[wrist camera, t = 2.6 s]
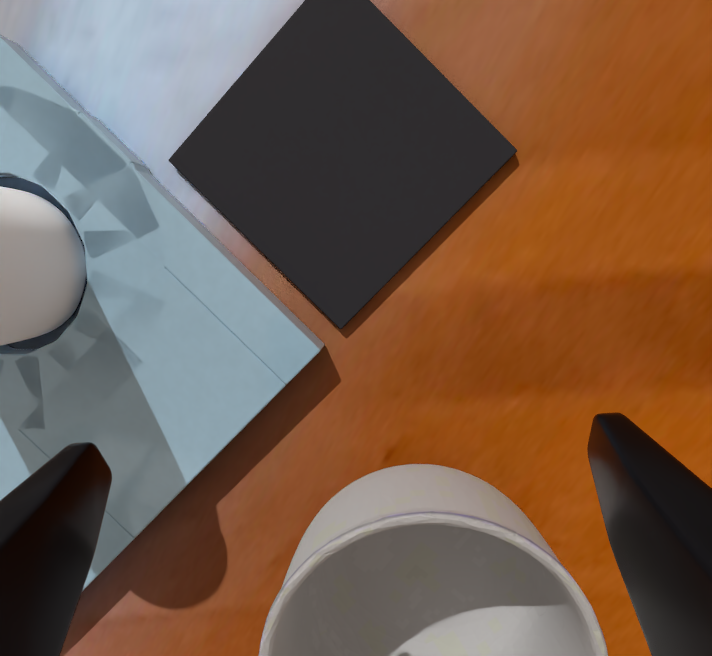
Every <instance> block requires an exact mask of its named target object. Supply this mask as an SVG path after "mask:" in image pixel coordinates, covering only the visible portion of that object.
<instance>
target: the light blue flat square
mask: <svg viewBox="0 0 712 656" xmlns="http://www.w3.org/2000/svg"><path fill="white" fill-rule="evenodd" d="M14 177H20V178H23V179H25V180H27V181H30V182H32V183H35V184H37V185H40V186H42V187H43V188H44V189H45V190H46V191H47V192H49V193H50V194H51V195H52V196H53V197H54V198H55V199H56V200H57V201H58V202H59V203H60V204H61V205H62V206H63V207H64V208H65V209H66V210H67V211H68V212H69V214H70V216H71V218H72V220H73V222H74V225H75V227H76V229H77V231H78V233H79V235H80V237H81V239H82V241H83V244H84V246H85V259H86V271H87V287H86V290H85V293H84V296H83V299H82V303H81V306H80V309H79V312H78V315H77V317H76V318H75V319H74V321H73V322H72V323H71V324H70V325H69V326H68V327H67V329H66V330H65V331H64V332H63V333H62V334H61V335H60V337H59V338H58V339H57V340H56V341H54V342H52V343H50V344H48V345H45V346H43V347H41V348H39V349H14V348H12V347H9V346H7V345H1V346H0V500H1V499H3V498H4V497H5V496H6V495H7V494H9V493H10V492H11V491H12V490H13V489H15V488H16V487H17V486H18V485H20V484H21V483H22V482H23V481H24V480H26V479H27V478H28V477H29V476H31V475H32V474H33V473H34V472H35V471H37V470H38V469H39V468H40V467H42V466H43V465H44V464H45V463H46V462H48V461H49V460H50V459H51V458H53V457H54V456H55V455H56V454H57V453H59V452H60V451H61V450H62V449H63V448H65V447H66V446H67V445H69V444H72V443H82V442H92V443H94V444H95V445H96V446H97V447H98V449H99V451H100V452H101V454H102V456H103V457H104V459H105V460H106V462H107V464H108V465H109V467H110V469H111V472H112V483H111V487H110V491H109V496H108V500H107V504H106V508H105V512H104V517H103V521H102V525H101V529H100V533H99V538H98V542H97V546H96V550H95V553H94V557H93V560H92V564H91V567H90V570H89V573H88V576H87V579H86V581H85V584H84V587H83V590H84V589H85V588H86V587H87V586H88V585H89V584H90V583H91V582H92V581H93V580H94V579H95V578H96V577H97V576H98V575H99V574H100V573H101V572H102V571H103V570H104V569H105V568H106V567H107V566H108V565H109V564H110V563H111V562H112V561H113V560H114V559H115V558H116V557H117V556H118V555H119V554H120V553H121V552H122V551H123V550H124V549H125V548H126V547H127V546H128V545H129V544H130V543H131V542H132V541H133V540H134V539H135V538H136V537H137V536H138V535H139V534H140V533H141V532H142V531H143V530H144V529H145V528H146V527H147V526H148V525H149V524H150V523H151V522H152V521H153V520H154V519H155V518H156V516H157V515H158V514H159V513H160V512H161V511H162V510H163V509H164V508H165V507H166V506H167V505H168V504H169V503H170V502H171V501H172V500H173V499H174V498H175V497H176V496H177V495H178V494H179V493H180V492H181V491H182V490H183V489H184V488H185V487H186V486H187V485H188V484H189V483H190V482H191V481H192V480H193V479H194V478H195V477H196V476H197V475H198V474H199V473H200V472H201V471H202V470H203V469H204V468H205V467H206V466H207V465H208V464H209V463H210V462H211V461H212V460H213V459H214V458H215V457H216V456H217V455H218V454H219V453H220V452H221V451H222V450H223V449H224V448H225V447H226V446H227V445H228V444H229V443H230V442H231V441H232V440H233V439H234V438H235V437H236V436H237V435H238V434H239V433H240V432H241V431H242V430H243V429H244V428H245V427H246V426H247V425H248V424H249V422H250V421H251V420H252V419H253V418H254V417H255V416H256V415H257V414H258V413H259V412H260V411H261V410H262V409H263V408H264V407H265V406H266V405H267V404H268V403H269V402H270V401H271V400H272V399H273V398H274V397H275V396H276V395H277V394H278V393H279V392H280V391H281V390H282V389H283V388H284V387H285V386H286V385H287V384H288V383H289V382H290V381H291V380H292V379H293V378H294V377H295V376H296V375H297V374H298V373H299V372H300V371H301V370H302V369H303V368H304V367H305V366H306V365H307V364H308V363H309V362H310V361H311V360H312V359H313V358H314V357H315V356H316V355H317V354H318V353H319V352H320V351H321V349H322V348H323V347H324V346H325V344H324V343H323V342H322V341H321V340H320V339H319V338H318V337H317V336H316V335H315V334H314V333H313V332H312V331H311V330H310V329H309V328H308V327H307V326H306V325H305V324H303V323H302V322H301V321H300V320H299V319H298V318H297V317H296V316H295V315H294V314H293V313H292V312H291V311H290V310H289V309H288V308H287V307H286V306H285V305H284V304H283V303H282V302H281V301H280V300H279V299H278V298H277V297H276V296H275V295H274V294H273V293H272V292H271V291H270V290H269V289H268V288H267V287H266V286H265V285H264V284H263V283H262V282H261V281H260V280H259V279H257V278H256V277H255V276H254V275H253V274H252V273H251V272H250V271H249V270H248V269H247V268H246V267H245V266H244V265H243V264H242V263H241V262H240V261H239V260H238V259H237V258H236V257H235V256H234V255H233V254H232V253H231V252H230V251H229V250H228V249H227V248H226V247H225V246H224V245H223V244H222V243H221V242H220V241H219V240H218V239H217V238H216V237H215V236H214V235H213V234H212V233H210V232H209V231H208V230H207V229H206V228H205V227H204V226H203V225H202V224H201V223H200V222H199V221H198V220H197V219H196V218H195V217H194V216H193V215H192V214H191V213H190V212H189V211H188V210H187V209H186V208H185V207H184V206H183V205H182V204H181V203H180V202H179V201H178V200H177V199H176V198H175V197H174V196H173V195H172V194H171V193H170V192H169V191H168V190H167V189H166V188H165V187H163V186H162V185H161V184H160V183H159V182H158V181H157V180H156V179H155V178H154V177H153V176H152V175H151V173H150V171H149V169H148V168H147V166H146V165H145V164H144V163H143V162H142V161H141V160H140V159H139V158H138V157H137V156H136V155H135V154H134V153H133V152H132V151H131V150H130V149H129V148H128V147H127V146H126V145H125V144H124V143H123V142H122V141H120V140H119V139H118V138H117V137H116V136H115V135H114V134H113V133H112V132H111V131H110V130H109V129H108V128H107V127H106V126H105V125H104V124H103V123H102V122H101V121H100V120H98V119H97V118H95V117H93V116H91V115H90V114H89V113H88V112H87V111H86V110H85V109H84V108H83V107H82V106H81V105H80V104H79V103H78V102H77V101H76V100H75V99H74V98H73V97H72V96H70V95H69V94H68V93H67V92H66V91H65V90H64V89H63V88H62V87H61V86H60V85H59V84H58V83H57V82H56V81H55V80H54V79H53V78H52V77H51V76H50V75H49V74H48V73H47V72H46V71H45V70H44V69H43V68H42V67H41V66H40V65H39V64H38V63H37V62H36V61H35V60H34V59H33V58H32V57H31V56H30V55H29V54H28V53H27V52H26V51H25V50H23V49H22V48H21V47H20V46H19V45H18V44H17V43H15V42H13V41H12V40H10V39H8V38H6V37H4V36H2V35H0V178H14ZM83 590H82V591H83Z"/></svg>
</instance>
